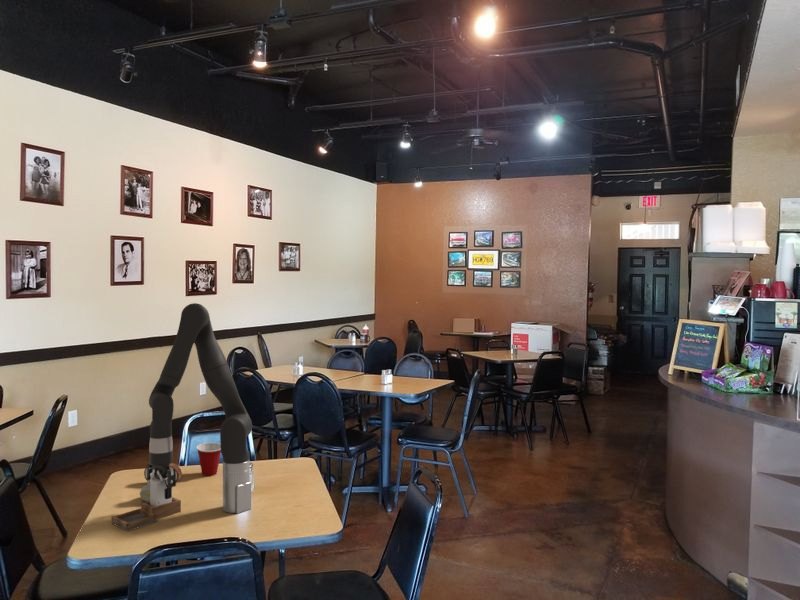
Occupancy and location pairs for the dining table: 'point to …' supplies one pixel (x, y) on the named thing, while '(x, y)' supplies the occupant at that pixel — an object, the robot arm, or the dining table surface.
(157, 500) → the skincare box
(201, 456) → the plastic cup
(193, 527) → the dining table surface
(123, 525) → the caddy
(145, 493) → the air freshener
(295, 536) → the dining table surface
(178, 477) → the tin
